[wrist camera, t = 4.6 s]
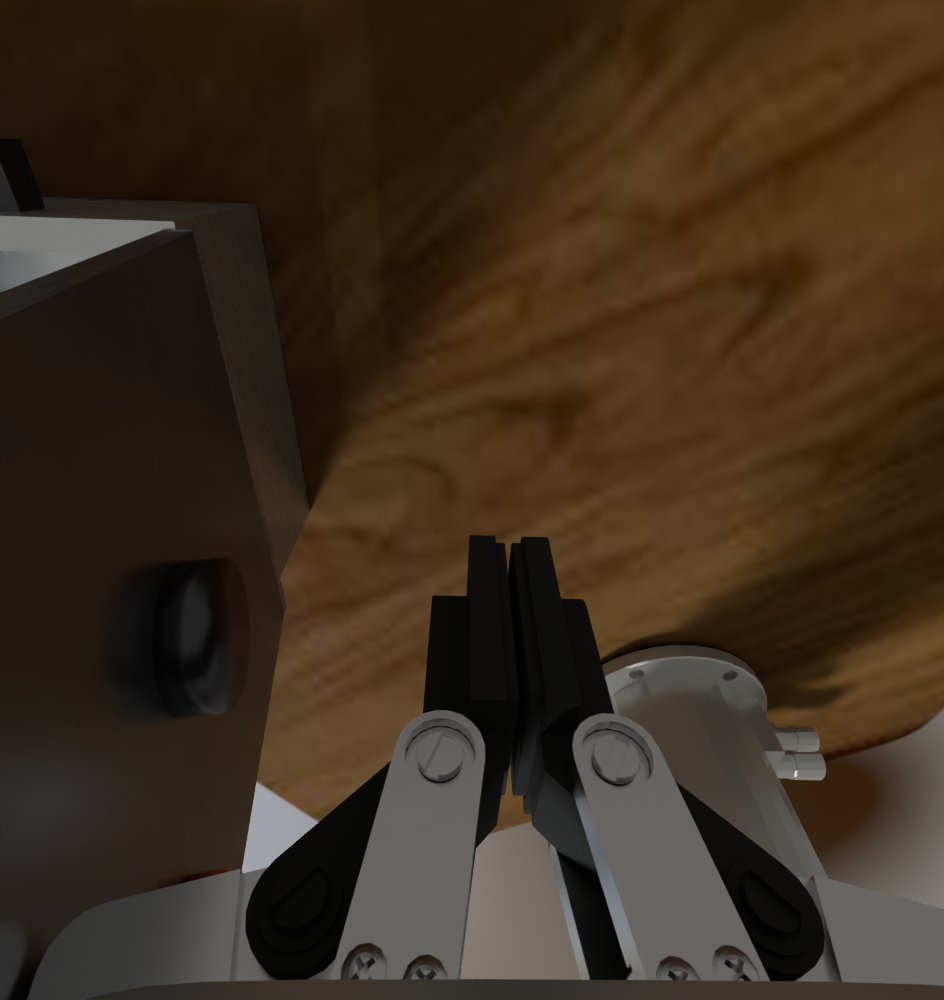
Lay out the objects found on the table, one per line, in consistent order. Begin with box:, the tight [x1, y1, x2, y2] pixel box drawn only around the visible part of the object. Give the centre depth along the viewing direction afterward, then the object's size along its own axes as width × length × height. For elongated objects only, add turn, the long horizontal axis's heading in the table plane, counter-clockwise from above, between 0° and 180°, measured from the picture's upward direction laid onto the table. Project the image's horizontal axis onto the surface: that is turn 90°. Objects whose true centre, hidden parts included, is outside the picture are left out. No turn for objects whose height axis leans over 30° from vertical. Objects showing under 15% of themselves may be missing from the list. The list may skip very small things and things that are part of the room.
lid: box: [0, 227, 286, 1000], centre depth 10 cm, size 15×13×2 cm
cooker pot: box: [0, 139, 310, 577], centre depth 19 cm, size 13×16×6 cm
